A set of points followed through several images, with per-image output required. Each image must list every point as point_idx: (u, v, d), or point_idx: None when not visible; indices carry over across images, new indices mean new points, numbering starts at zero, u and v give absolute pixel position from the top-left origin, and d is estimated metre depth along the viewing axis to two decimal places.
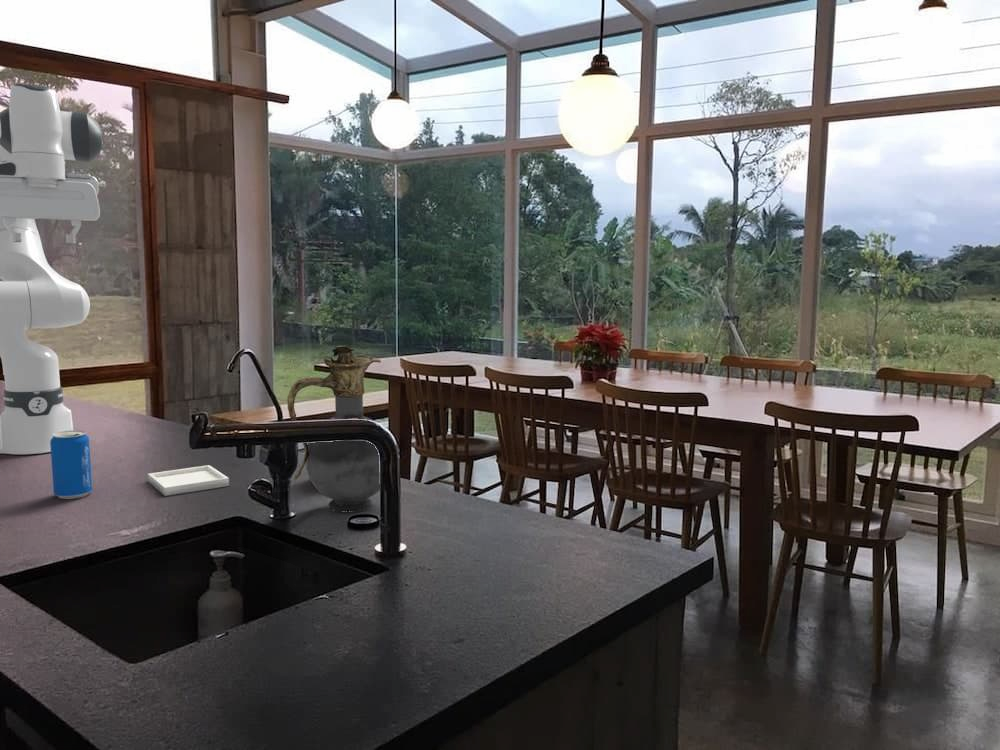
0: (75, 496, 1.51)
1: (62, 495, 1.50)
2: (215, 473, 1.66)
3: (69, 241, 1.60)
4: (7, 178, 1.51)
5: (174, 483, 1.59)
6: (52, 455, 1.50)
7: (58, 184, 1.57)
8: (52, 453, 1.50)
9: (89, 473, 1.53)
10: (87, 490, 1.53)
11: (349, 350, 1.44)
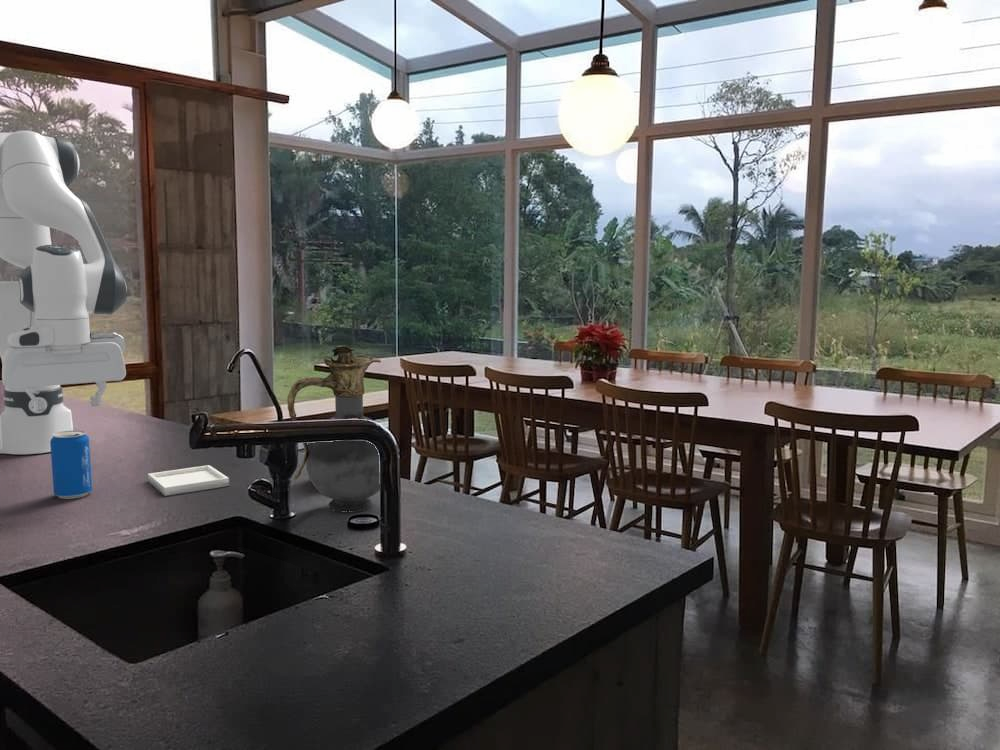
0: (75, 496, 1.51)
1: (62, 495, 1.50)
2: (215, 473, 1.66)
3: (94, 404, 1.53)
4: (30, 347, 1.44)
5: (174, 483, 1.59)
6: (52, 455, 1.50)
7: (83, 348, 1.50)
8: (52, 453, 1.50)
9: (89, 473, 1.53)
10: (87, 490, 1.53)
11: (349, 350, 1.44)
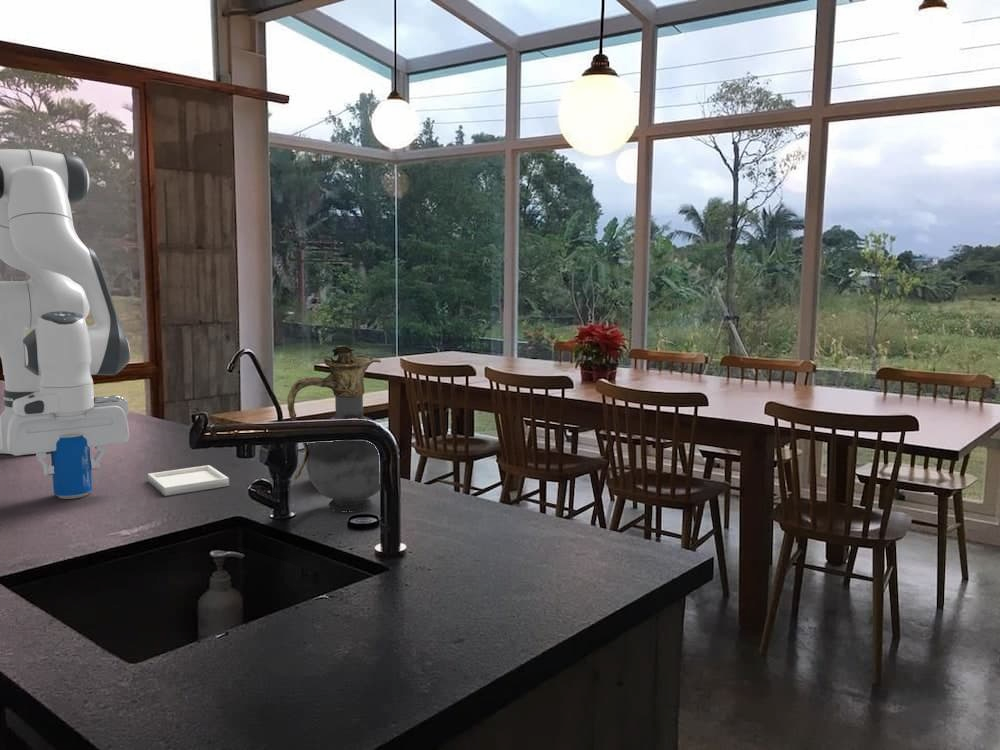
0: (75, 496, 1.51)
1: (62, 495, 1.50)
2: (215, 473, 1.66)
3: (93, 468, 1.54)
4: (35, 415, 1.46)
5: (174, 483, 1.59)
6: (52, 455, 1.50)
7: (87, 413, 1.51)
8: (52, 453, 1.50)
9: (89, 473, 1.53)
10: (87, 490, 1.53)
11: (349, 350, 1.44)
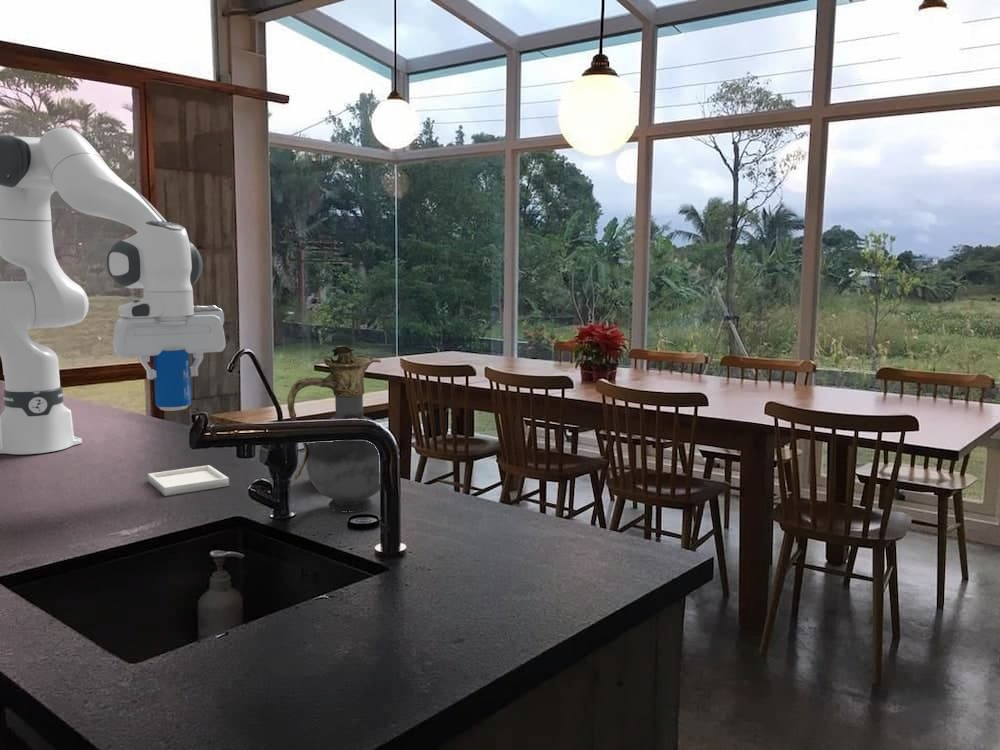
0: (176, 408, 1.56)
1: (164, 406, 1.56)
2: (215, 473, 1.66)
3: (192, 374, 1.59)
4: (141, 318, 1.51)
5: (174, 483, 1.59)
6: (155, 367, 1.55)
7: (187, 319, 1.57)
8: (155, 365, 1.55)
9: (189, 387, 1.58)
10: (187, 403, 1.58)
11: (349, 350, 1.44)
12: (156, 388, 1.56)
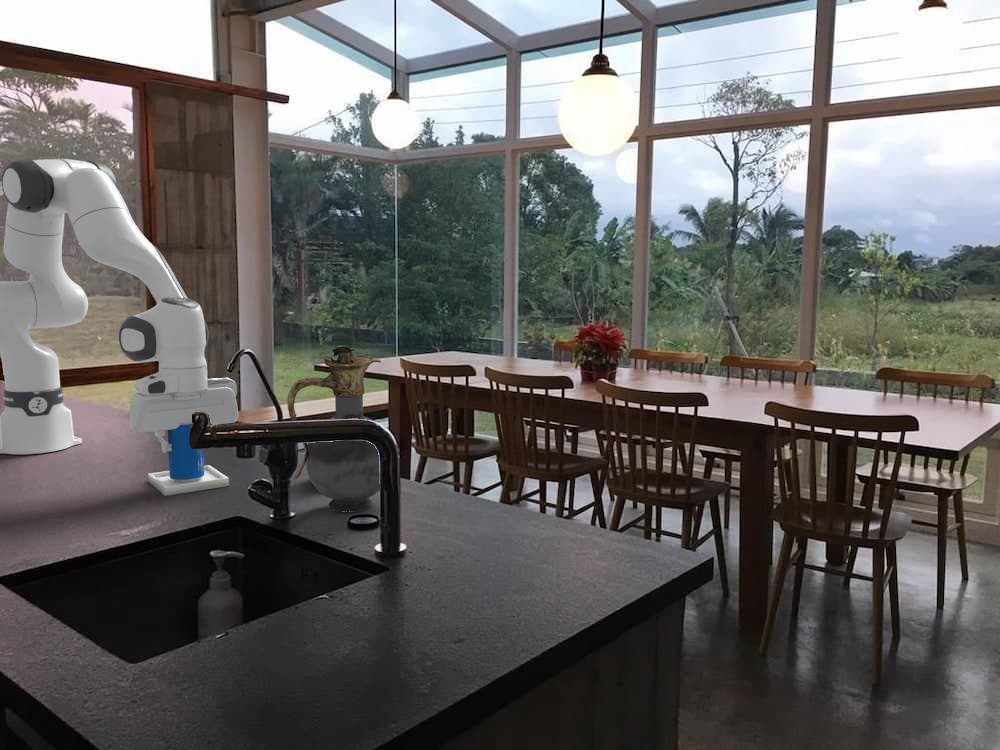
0: (190, 480, 1.60)
1: (179, 479, 1.59)
2: (215, 473, 1.66)
3: None
4: (157, 395, 1.54)
5: (174, 483, 1.59)
6: (170, 441, 1.59)
7: (201, 393, 1.60)
8: (170, 439, 1.59)
9: (202, 458, 1.62)
10: (201, 474, 1.61)
11: (349, 350, 1.44)
12: (170, 461, 1.59)
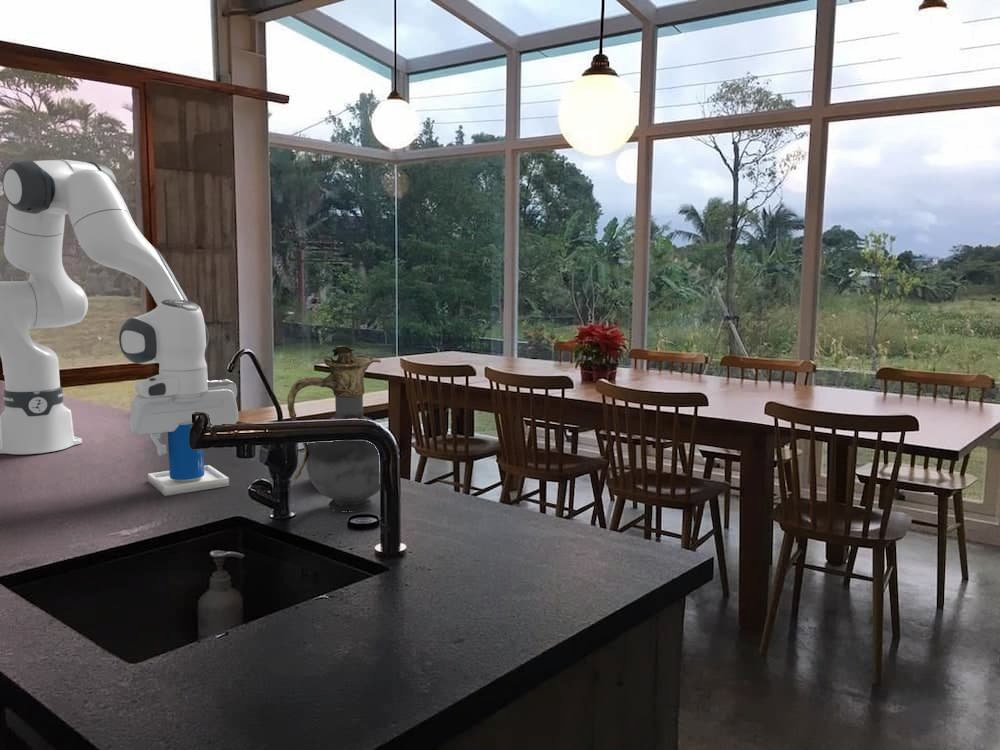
0: (190, 480, 1.60)
1: (179, 479, 1.59)
2: (215, 473, 1.66)
3: None
4: (157, 397, 1.54)
5: (174, 483, 1.59)
6: (170, 441, 1.59)
7: (202, 395, 1.60)
8: (170, 439, 1.59)
9: (202, 458, 1.62)
10: (201, 474, 1.61)
11: (349, 350, 1.44)
12: (170, 461, 1.59)
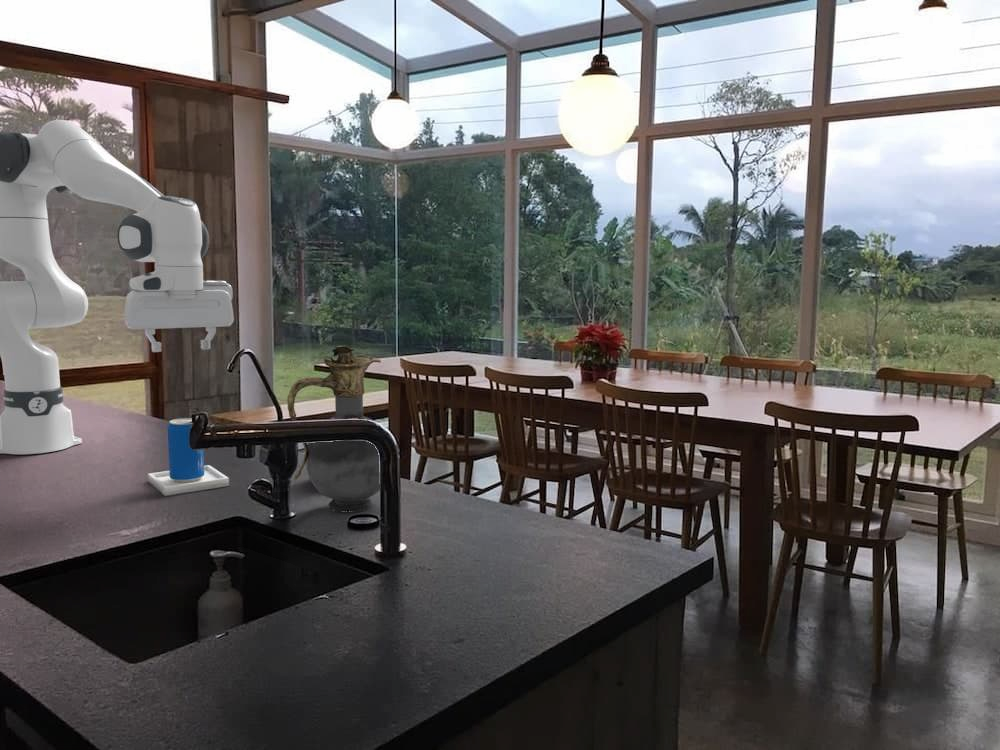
0: (190, 480, 1.60)
1: (179, 479, 1.59)
2: (215, 473, 1.66)
3: (204, 347, 1.63)
4: (152, 292, 1.54)
5: (174, 483, 1.59)
6: (170, 441, 1.59)
7: (197, 294, 1.60)
8: (170, 439, 1.59)
9: (202, 458, 1.62)
10: (201, 474, 1.61)
11: (349, 350, 1.44)
12: (170, 461, 1.59)
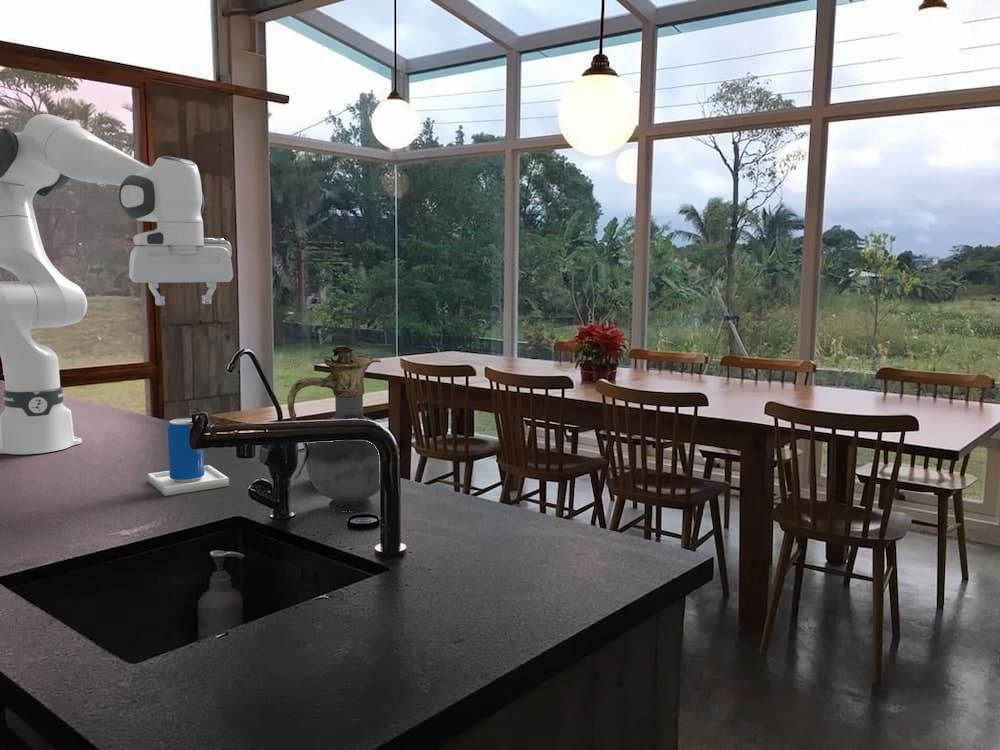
0: (190, 480, 1.60)
1: (179, 479, 1.59)
2: (215, 473, 1.66)
3: (206, 302, 1.71)
4: (155, 246, 1.62)
5: (174, 483, 1.59)
6: (170, 441, 1.59)
7: (198, 250, 1.68)
8: (170, 439, 1.59)
9: (202, 458, 1.62)
10: (201, 474, 1.61)
11: (349, 350, 1.44)
12: (170, 461, 1.59)
